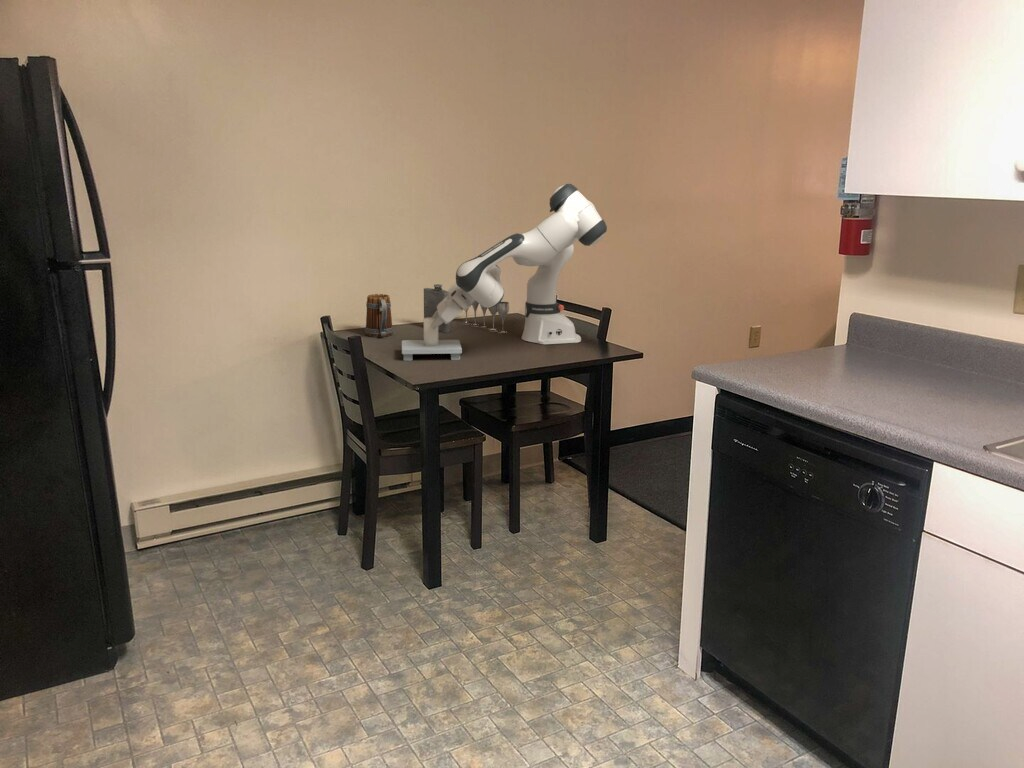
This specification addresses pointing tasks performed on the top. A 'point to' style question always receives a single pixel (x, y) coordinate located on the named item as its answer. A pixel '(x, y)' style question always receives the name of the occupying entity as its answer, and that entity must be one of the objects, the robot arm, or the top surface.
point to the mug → (378, 316)
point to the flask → (435, 304)
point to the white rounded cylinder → (430, 332)
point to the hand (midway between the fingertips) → (431, 324)
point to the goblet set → (492, 311)
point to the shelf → (431, 348)
